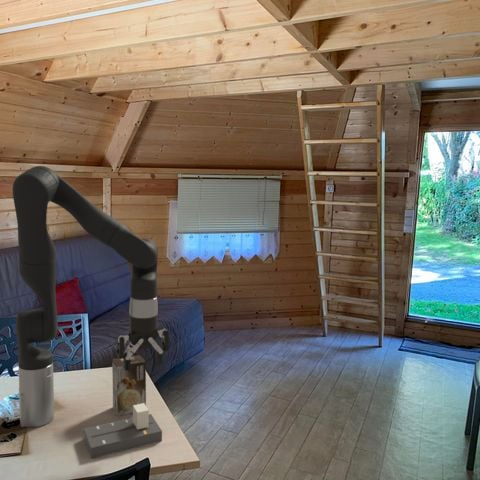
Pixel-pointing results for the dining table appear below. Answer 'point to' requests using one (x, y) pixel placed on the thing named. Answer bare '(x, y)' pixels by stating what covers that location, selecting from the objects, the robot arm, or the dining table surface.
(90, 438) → the fader console
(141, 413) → the fader knob
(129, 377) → the coffee box
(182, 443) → the dining table surface
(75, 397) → the dining table surface
